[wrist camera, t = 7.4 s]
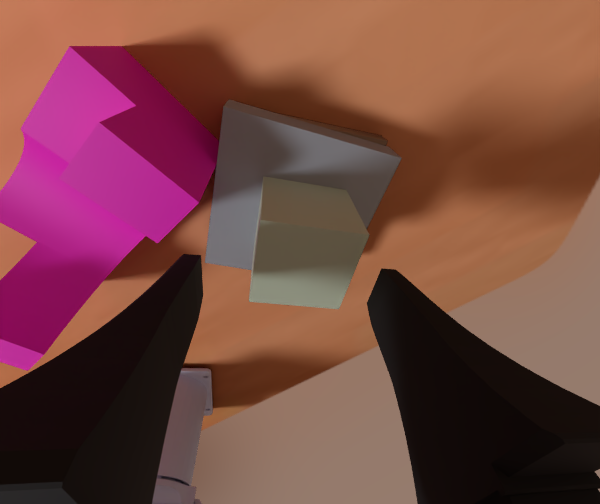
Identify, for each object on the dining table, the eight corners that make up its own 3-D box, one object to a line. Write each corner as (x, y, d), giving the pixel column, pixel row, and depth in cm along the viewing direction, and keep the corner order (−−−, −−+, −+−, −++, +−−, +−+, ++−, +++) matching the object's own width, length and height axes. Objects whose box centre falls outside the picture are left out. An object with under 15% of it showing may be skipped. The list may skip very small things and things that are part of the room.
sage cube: (325, 255, 18) (338, 309, 14) (253, 247, 17) (249, 301, 13) (346, 189, 15) (369, 235, 12) (263, 175, 14) (260, 219, 11)
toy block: (123, 46, 13) (4, 46, 7) (225, 145, 17) (198, 202, 11) (-1, 230, 18) (-131, 318, 12) (95, 280, 22) (27, 370, 16)
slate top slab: (334, 265, 21) (339, 284, 19) (210, 244, 19) (205, 262, 17) (388, 146, 16) (401, 158, 14) (228, 99, 14) (223, 106, 12)
